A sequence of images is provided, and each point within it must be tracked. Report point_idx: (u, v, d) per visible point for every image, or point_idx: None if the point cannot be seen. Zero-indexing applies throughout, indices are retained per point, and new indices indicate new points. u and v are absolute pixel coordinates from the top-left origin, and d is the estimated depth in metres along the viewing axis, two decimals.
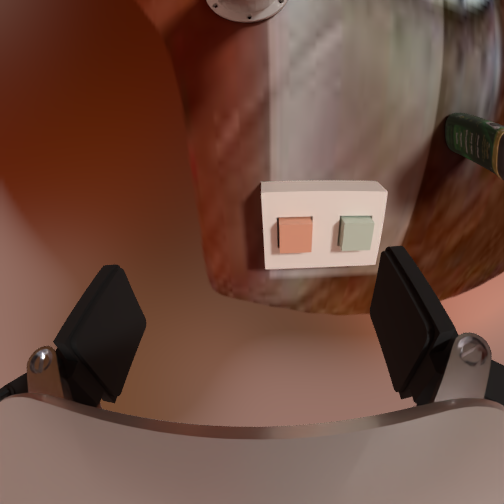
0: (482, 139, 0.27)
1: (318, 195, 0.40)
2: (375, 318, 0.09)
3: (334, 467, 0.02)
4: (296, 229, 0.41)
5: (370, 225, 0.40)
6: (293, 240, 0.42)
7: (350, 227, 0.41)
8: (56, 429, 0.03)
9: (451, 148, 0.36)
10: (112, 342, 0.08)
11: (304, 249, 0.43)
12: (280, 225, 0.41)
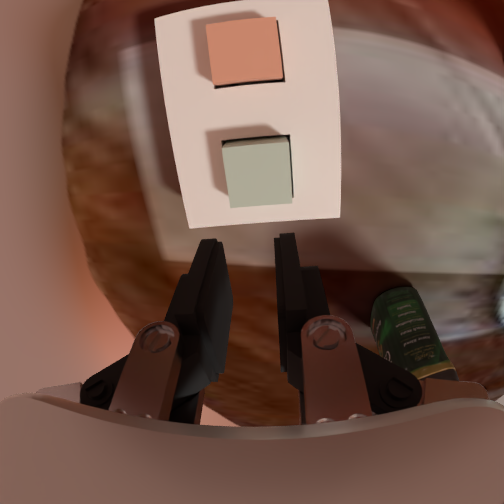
0: (430, 344, 0.26)
1: (329, 90, 0.19)
2: None
3: (334, 467, 0.02)
4: (267, 47, 0.15)
5: (287, 196, 0.22)
6: (240, 44, 0.15)
7: (280, 155, 0.20)
8: (56, 429, 0.03)
9: (381, 301, 0.34)
10: (220, 315, 0.09)
11: (219, 69, 0.16)
12: (274, 18, 0.14)
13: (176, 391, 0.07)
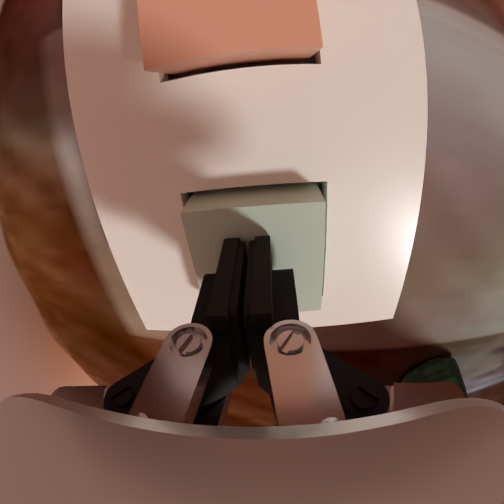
0: None
1: (411, 92, 0.08)
2: None
3: (334, 467, 0.02)
4: None
5: (312, 299, 0.11)
6: None
7: (305, 229, 0.10)
8: (56, 429, 0.03)
9: (415, 379, 0.23)
10: None
11: (158, 32, 0.06)
12: None
13: (202, 395, 0.06)
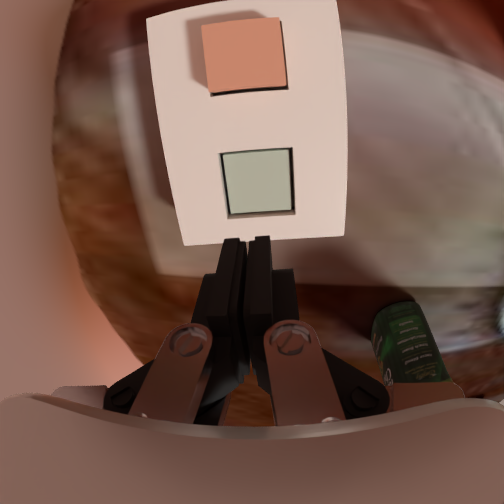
0: (431, 362, 0.25)
1: (337, 99, 0.17)
2: None
3: (333, 467, 0.02)
4: (270, 51, 0.14)
5: (286, 202, 0.22)
6: (239, 47, 0.14)
7: (279, 163, 0.20)
8: (56, 429, 0.03)
9: (383, 316, 0.33)
10: None
11: (215, 75, 0.15)
12: (277, 19, 0.13)
13: (202, 396, 0.06)
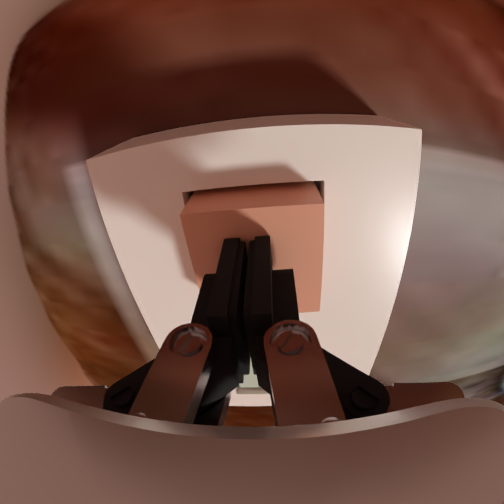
0: None
1: (383, 298, 0.13)
2: None
3: (334, 467, 0.02)
4: (301, 267, 0.10)
5: None
6: None
7: None
8: (56, 429, 0.03)
9: None
10: None
11: None
12: (321, 207, 0.09)
13: (202, 396, 0.06)
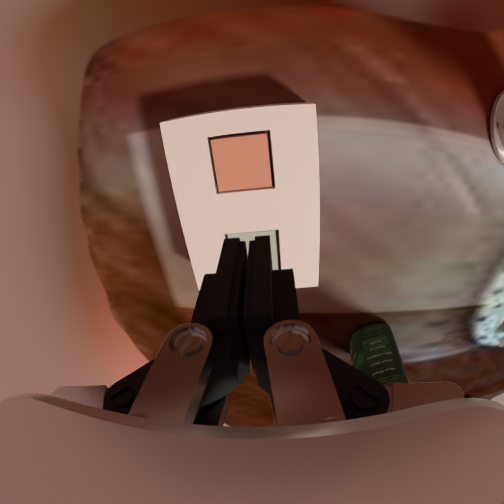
0: (394, 374, 0.33)
1: (312, 193, 0.26)
2: None
3: (334, 467, 0.02)
4: (260, 162, 0.24)
5: (274, 265, 0.31)
6: (238, 159, 0.24)
7: None
8: (56, 429, 0.03)
9: (357, 336, 0.41)
10: None
11: (223, 179, 0.25)
12: (266, 135, 0.23)
13: (202, 396, 0.06)
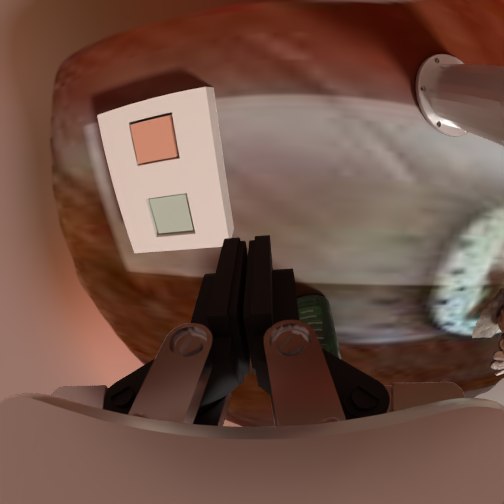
0: (321, 343, 0.38)
1: (210, 160, 0.30)
2: None
3: (333, 467, 0.02)
4: (166, 137, 0.28)
5: (189, 226, 0.35)
6: (150, 137, 0.28)
7: (181, 202, 0.33)
8: (56, 429, 0.03)
9: None
10: None
11: (140, 154, 0.29)
12: (168, 116, 0.27)
13: (202, 396, 0.06)
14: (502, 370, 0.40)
